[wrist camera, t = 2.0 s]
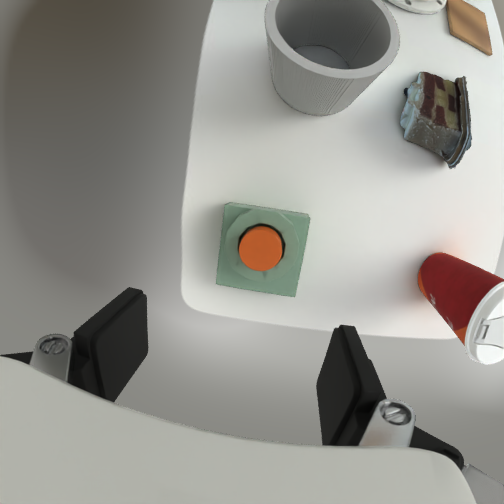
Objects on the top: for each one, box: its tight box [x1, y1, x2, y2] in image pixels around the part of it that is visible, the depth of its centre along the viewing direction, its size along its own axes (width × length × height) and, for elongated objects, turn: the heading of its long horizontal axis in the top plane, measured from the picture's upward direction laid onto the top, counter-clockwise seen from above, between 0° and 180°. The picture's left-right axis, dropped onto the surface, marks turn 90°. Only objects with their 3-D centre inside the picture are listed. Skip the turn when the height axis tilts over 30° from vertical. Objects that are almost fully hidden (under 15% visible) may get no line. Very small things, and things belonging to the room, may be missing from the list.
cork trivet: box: [446, 0, 492, 56], centre depth 19 cm, size 8×7×1 cm
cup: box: [265, 0, 400, 116], centre depth 19 cm, size 9×9×12 cm
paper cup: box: [418, 253, 504, 365], centre depth 22 cm, size 8×8×14 cm
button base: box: [216, 202, 310, 297], centre depth 28 cm, size 8×8×4 cm
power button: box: [239, 226, 282, 271], centre depth 25 cm, size 4×4×2 cm
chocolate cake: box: [400, 72, 472, 169], centre depth 23 cm, size 10×7×12 cm
